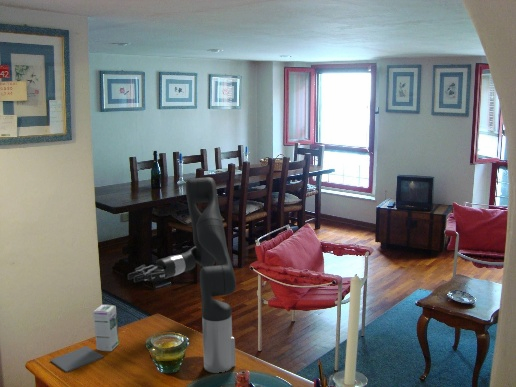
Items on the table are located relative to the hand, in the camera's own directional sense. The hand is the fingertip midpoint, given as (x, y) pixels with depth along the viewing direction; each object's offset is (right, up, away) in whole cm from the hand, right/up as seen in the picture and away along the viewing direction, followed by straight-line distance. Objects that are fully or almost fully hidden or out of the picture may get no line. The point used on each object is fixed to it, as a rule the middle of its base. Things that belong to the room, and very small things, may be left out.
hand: (131, 278), depth 187 cm
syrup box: (-7, -23, -4) cm, 25 cm away
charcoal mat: (-15, -25, -12) cm, 32 cm away
